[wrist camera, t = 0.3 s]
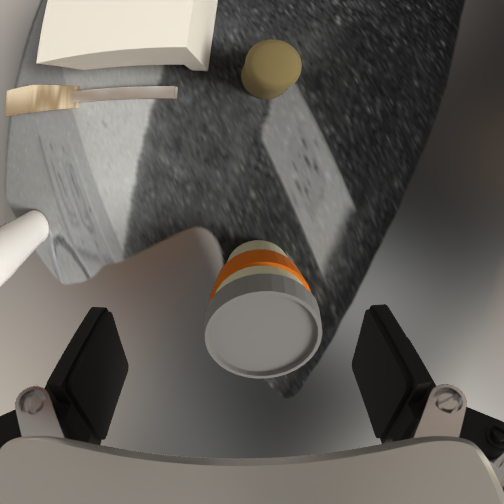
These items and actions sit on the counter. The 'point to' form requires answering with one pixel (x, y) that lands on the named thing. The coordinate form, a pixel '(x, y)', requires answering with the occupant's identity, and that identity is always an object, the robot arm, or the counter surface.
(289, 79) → the cork
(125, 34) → the cabinet
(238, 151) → the counter surface
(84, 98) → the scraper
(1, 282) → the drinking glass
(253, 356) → the reusable coffee cup
